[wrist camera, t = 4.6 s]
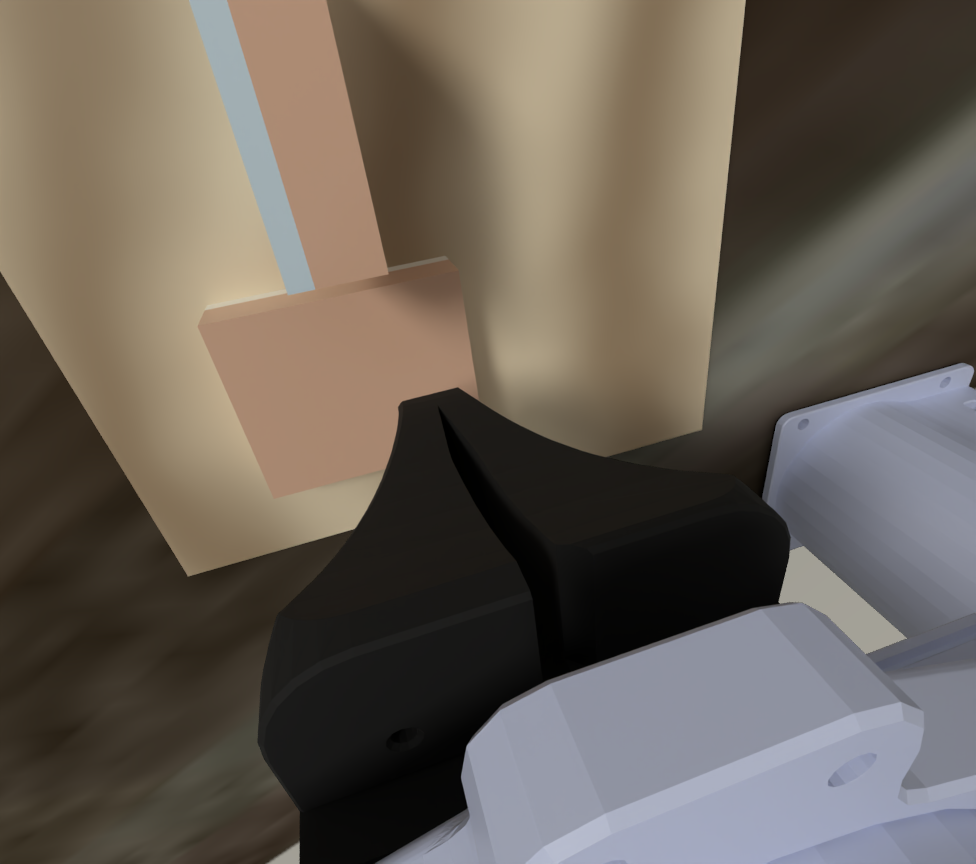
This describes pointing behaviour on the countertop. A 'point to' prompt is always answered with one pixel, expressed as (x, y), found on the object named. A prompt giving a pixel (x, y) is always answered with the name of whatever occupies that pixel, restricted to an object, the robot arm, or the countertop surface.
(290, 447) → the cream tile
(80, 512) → the countertop surface
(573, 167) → the maple board
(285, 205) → the tan piece
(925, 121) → the countertop surface
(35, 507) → the countertop surface
